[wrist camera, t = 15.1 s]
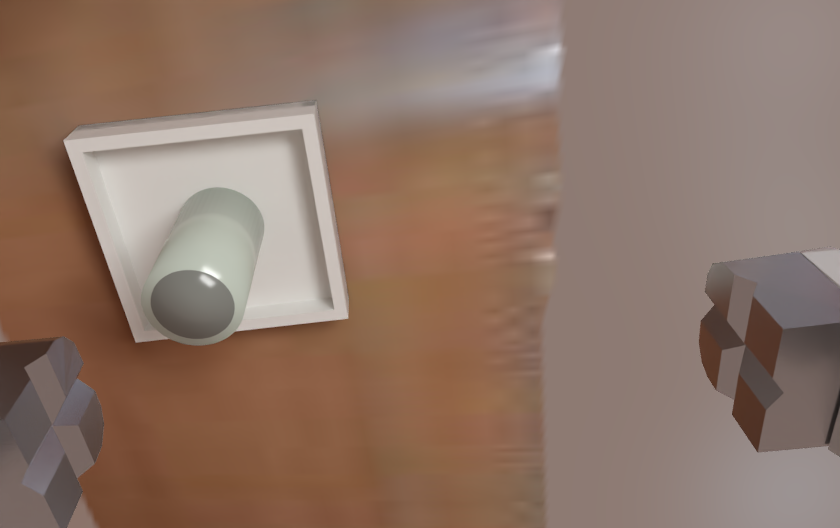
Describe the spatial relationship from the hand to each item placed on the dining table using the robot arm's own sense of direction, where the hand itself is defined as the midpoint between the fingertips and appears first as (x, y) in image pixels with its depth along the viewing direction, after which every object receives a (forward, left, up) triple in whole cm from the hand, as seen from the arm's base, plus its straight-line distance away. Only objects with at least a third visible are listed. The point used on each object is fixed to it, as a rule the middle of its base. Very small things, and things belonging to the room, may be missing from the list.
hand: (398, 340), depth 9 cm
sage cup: (+14, -11, -33) cm, 38 cm away
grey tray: (+14, -11, -34) cm, 38 cm away
